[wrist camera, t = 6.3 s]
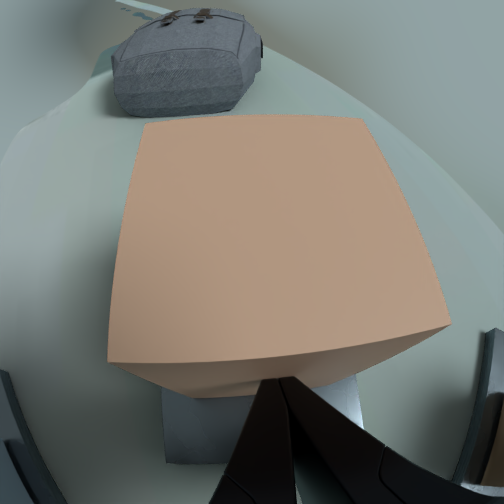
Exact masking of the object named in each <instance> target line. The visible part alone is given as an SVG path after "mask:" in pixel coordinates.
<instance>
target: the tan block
mask: <svg viewBox="0 0 504 504" xmlns="http://www.w3.org/2000/svg"><path fill="white" fill-rule="evenodd" d="M451 324H452V323H451V319H450V316H449V312H448V309H447V305H446V302H445V299H444V296H443V293H442V289H441V286H440V283H439V280H438V278H437V275H436V272H435V269H434V266H433V263H432V261H431V258H430V255H429V253H428V250H427V248H426V245H425V243H424V240H423V238H422V235H421V233H420V230H419V228H418V226H417V223H416V221H415V219H414V216H413V214H412V212H411V210H410V208H409V205H408V203H407V201H406V199H405V197H404V195H403V193H402V191H401V189H400V187H399V184H398V182H397V180H396V178H395V177H394V175H393V173H392V171H391V169H390V167H389V165H388V163H387V161H386V159H385V158H384V156H383V154H382V152H381V150H380V148H379V147H378V145H377V143H376V141H375V140H374V138H373V136H372V135H371V133H370V131H369V129H368V128H367V126H366V124H365V123H364V121H363V120H362V119H359V118H348V117H334V116H316V115H231V116H213V117H199V118H188V119H178V120H168V121H160V122H152V123H145V127H144V130H143V134H142V137H141V141H140V145H139V148H138V152H137V156H136V160H135V164H134V168H133V172H132V176H131V181H130V185H129V190H128V194H127V199H126V204H125V209H124V214H123V219H122V225H121V231H120V237H119V243H118V249H117V256H116V263H115V270H114V278H113V287H112V296H111V307H110V319H109V333H108V353H107V362H108V363H110V364H112V365H114V366H117V367H119V368H121V369H123V370H125V371H127V372H129V373H132V374H134V375H136V376H138V377H141V378H143V379H145V380H148V381H150V382H152V383H155V384H157V385H159V386H162V387H164V388H167V389H169V390H172V391H175V392H177V393H180V394H183V395H185V396H188V397H191V398H216V397H234V396H247V395H256V392H257V390H258V387H259V385H260V382H261V380H263V379H271V378H277V379H279V378H281V377H289V376H295V377H296V378H298V379H299V380H300V381H301V382H302V383H304V384H305V385H306V386H307V387H309V388H314V387H320V386H326V385H330V384H332V383H335V382H337V381H340V380H342V379H345V378H347V377H349V376H352V375H354V374H356V373H359V372H361V371H363V370H365V369H368V368H370V367H372V366H374V365H376V364H378V363H380V362H383V361H385V360H387V359H389V358H391V357H393V356H395V355H397V354H399V353H401V352H403V351H405V350H407V349H408V348H410V347H412V346H414V345H416V344H418V343H420V342H422V341H423V340H425V339H427V338H429V337H431V336H432V335H434V334H436V333H438V332H439V331H441V330H443V329H444V328H446V327H448V326H449V325H451Z"/></svg>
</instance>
